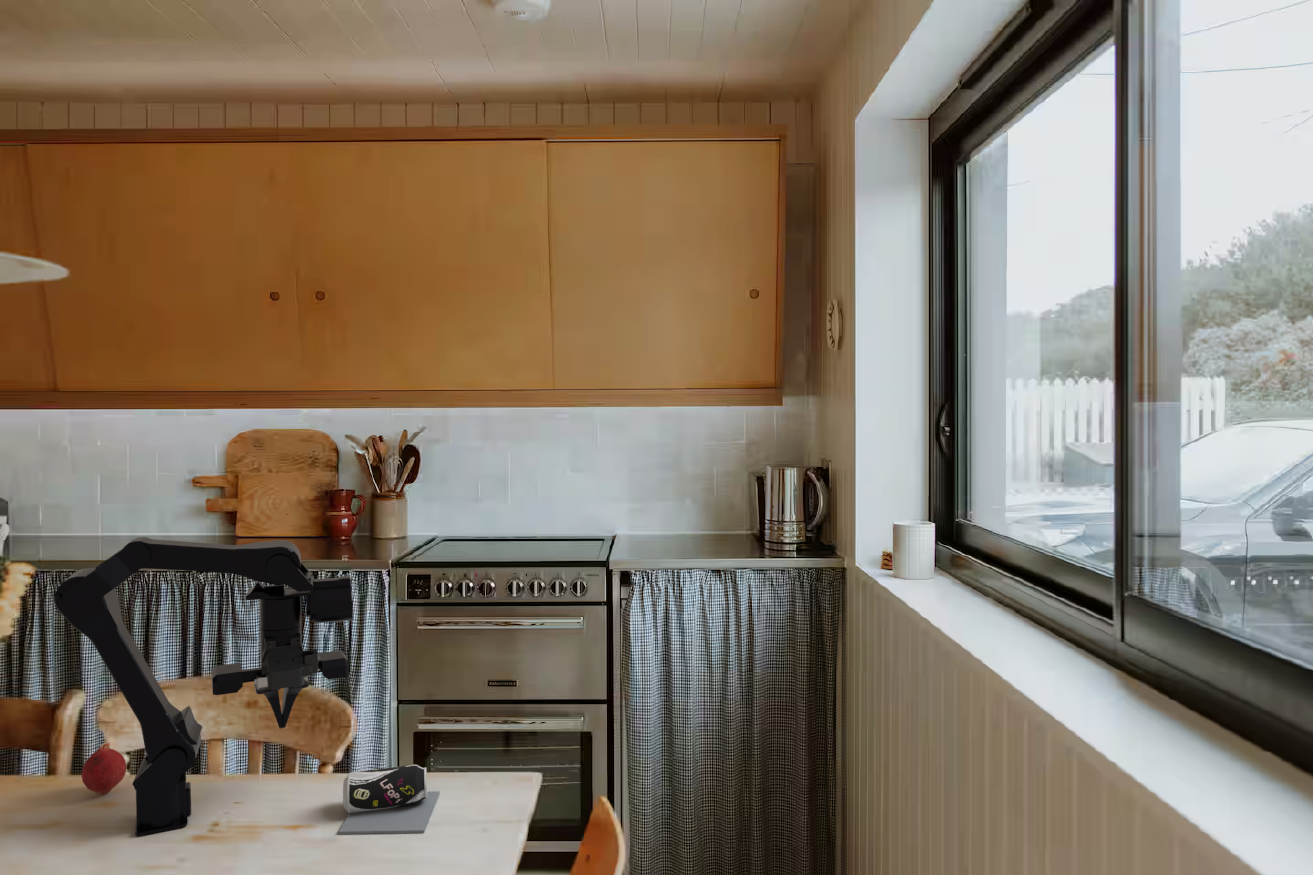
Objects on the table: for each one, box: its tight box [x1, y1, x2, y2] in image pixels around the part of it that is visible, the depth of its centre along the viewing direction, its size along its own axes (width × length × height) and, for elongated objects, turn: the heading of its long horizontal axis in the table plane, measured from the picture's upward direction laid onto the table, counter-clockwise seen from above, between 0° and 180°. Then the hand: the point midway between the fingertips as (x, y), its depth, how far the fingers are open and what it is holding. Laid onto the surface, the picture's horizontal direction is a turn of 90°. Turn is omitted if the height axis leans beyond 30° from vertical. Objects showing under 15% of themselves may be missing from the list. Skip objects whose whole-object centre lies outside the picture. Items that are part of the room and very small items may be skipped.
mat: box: [338, 790, 441, 835], centre depth 130 cm, size 12×12×1 cm
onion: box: [81, 742, 127, 795], centre depth 134 cm, size 6×6×8 cm
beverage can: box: [342, 764, 428, 814], centre depth 131 cm, size 6×6×12 cm
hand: (282, 727), depth 131 cm, fingers closed
